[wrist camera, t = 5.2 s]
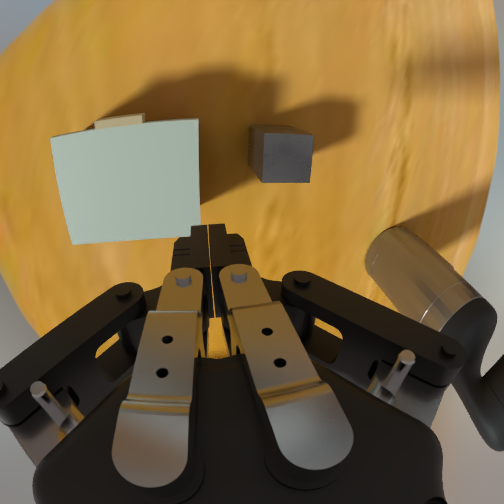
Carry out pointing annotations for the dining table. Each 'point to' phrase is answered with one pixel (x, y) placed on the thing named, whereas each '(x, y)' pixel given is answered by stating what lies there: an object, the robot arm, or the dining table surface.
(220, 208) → the dining table surface
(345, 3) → the dining table surface
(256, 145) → the block
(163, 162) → the box lid
